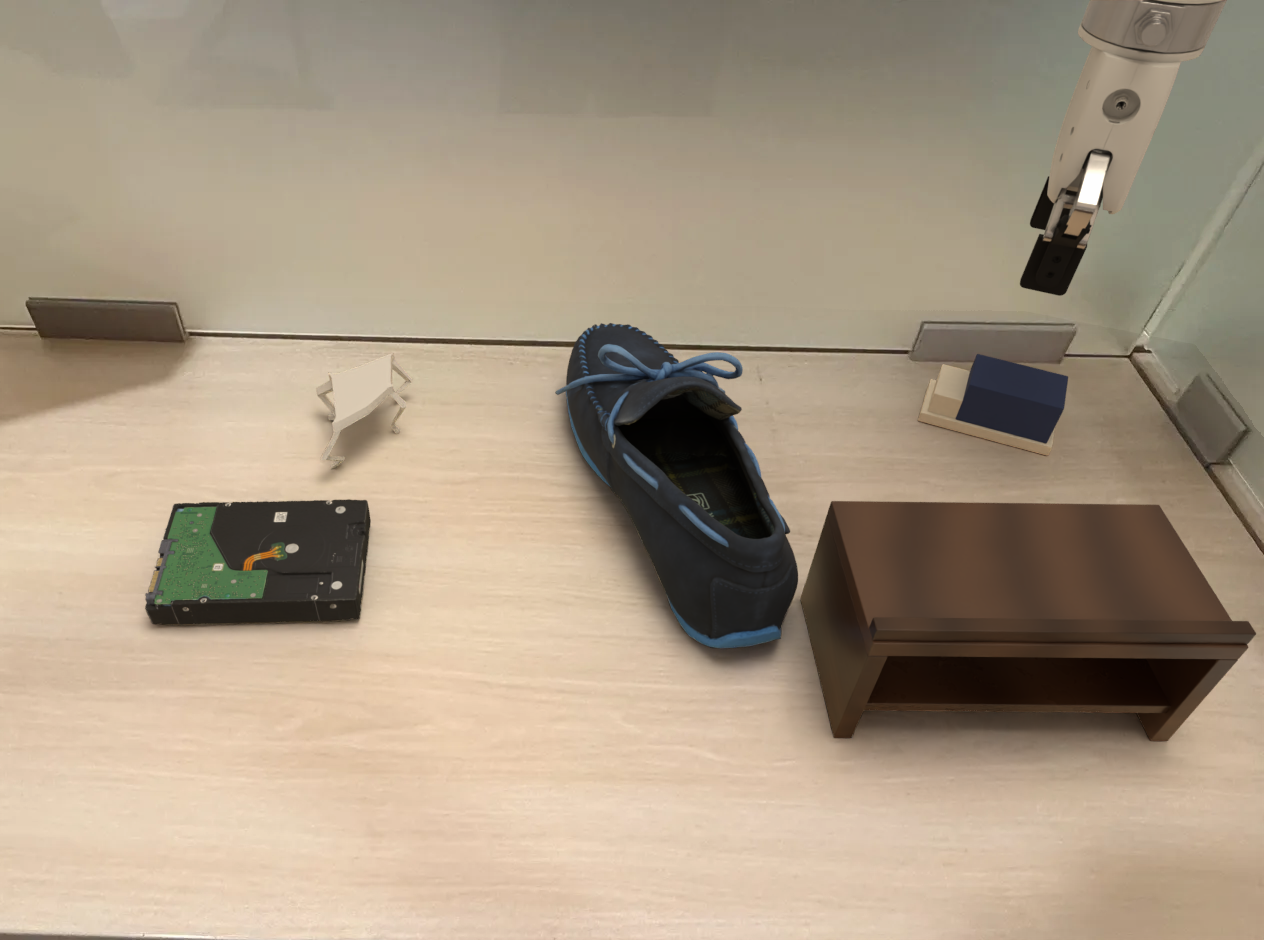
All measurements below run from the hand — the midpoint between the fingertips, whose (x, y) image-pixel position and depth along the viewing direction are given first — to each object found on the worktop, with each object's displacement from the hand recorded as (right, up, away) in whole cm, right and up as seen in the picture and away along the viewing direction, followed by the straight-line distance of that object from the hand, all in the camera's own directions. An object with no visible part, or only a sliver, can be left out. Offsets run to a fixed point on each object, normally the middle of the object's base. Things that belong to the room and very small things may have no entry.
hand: (1045, 258), depth 75 cm
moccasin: (-29, -18, +5) cm, 34 cm away
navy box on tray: (+1, -11, +12) cm, 16 cm away
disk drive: (-59, -24, -2) cm, 64 cm away
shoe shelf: (-8, -30, -7) cm, 32 cm away
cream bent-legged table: (-54, -13, +9) cm, 57 cm away
